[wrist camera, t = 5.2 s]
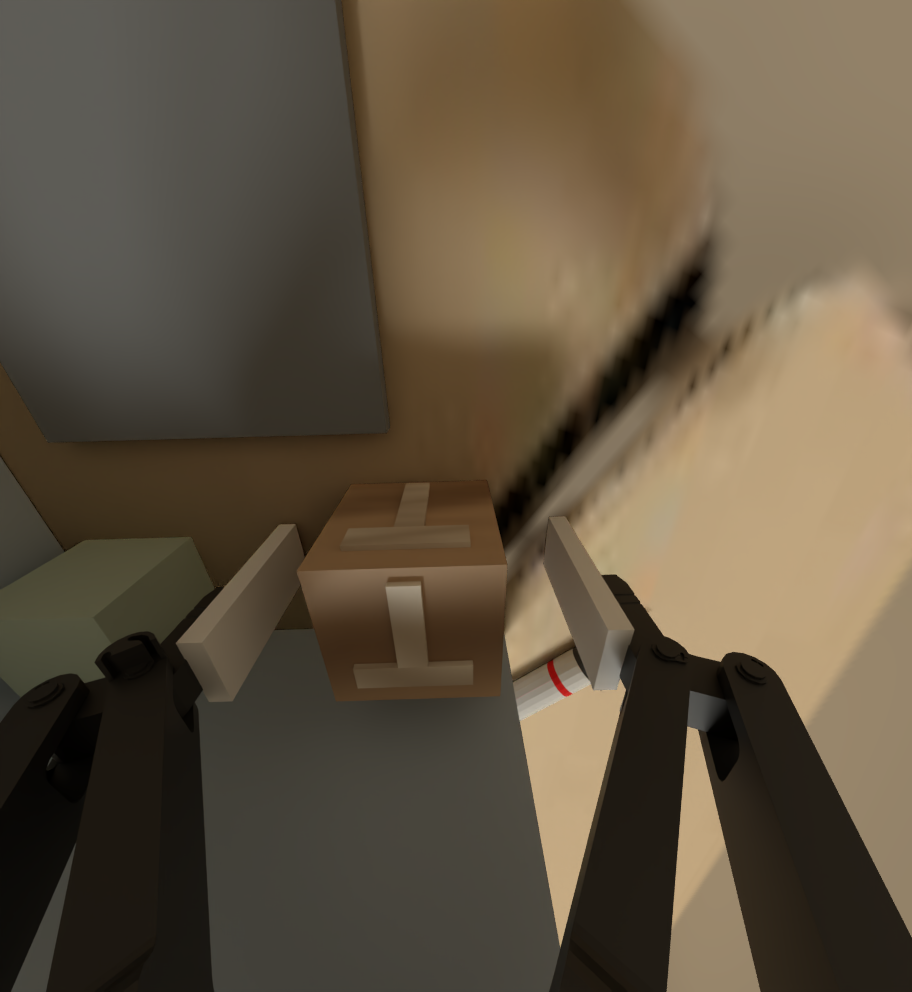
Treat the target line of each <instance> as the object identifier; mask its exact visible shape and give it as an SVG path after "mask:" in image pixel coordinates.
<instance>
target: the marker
mask: <svg viewBox="0 0 912 992" xmlns="http://www.w3.org/2000/svg"><path fill="white" fill-rule="evenodd" d="M590 684H591V683H590V680H589V678H588V675H587V673H586V670H585V668H584V665H583V663H582V660H581V658H580V655H579V653H578V650H577V648H576V647H575V648H574V649H573V648H572V649H571V650H569V651H567V652H565V653H564V654H562V655H560V656H558V657H557V658H555V659H553V660H551V661H549V662H548V663H546V664H544V665H542V666H541V667H539V668H537V669H535V670H534V671H532V672H530V673H528V674H527V675H525V676H523V677H521V678H519V679H518V680H516V681H514V682H513V686H514V692H515V698H516V703H517V709H518V715H519V720H520V721H521V720H523V719H525V718H527V717H529V716H531V715H533V714H534V713H536V712H538V711H540V710H542V709H544V708H546V707H548V706H550V705H552V704H554V703H556V702H558V701H559V700H561V699H563V698H565V697H567V696H569V695H571V694H573V693H575V692H577V691H579V690H581V689H583V688H584V687H586V686H588V685H590Z"/></svg>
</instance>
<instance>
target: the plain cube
mask: <svg viewBox="0 0 912 992" xmlns="http://www.w3.org/2000/svg"><path fill="white" fill-rule="evenodd" d="M214 589H215V588H214V586H213V584H212V582H211V580H210V577H209V575H208V573H207V571H206V569H205V566H204V564H203V562H202V560H201V558H200V555H199V553H198V551H197V549H196V546H195V544H194V542H193V540H192V538H191V537H172V538H137V539H102V540H84V541H83V542H81V543H79V544H77V545H76V546H74V547H72V548H71V549H69V550H67V551H66V552H64V553H62V554H60V555H59V556H57V557H55V558H54V559H52V560H50V561H49V562H47V563H45V564H43V565H42V566H40V567H38V568H37V569H35V570H33V571H32V572H30V573H28V574H26V575H25V576H23V577H21V578H20V579H18V580H16V581H15V582H13V583H11V584H9V585H8V586H6V587H4V588H3V589H1V590H0V677H1V678H2V679H3V680H4V681H5V682H6V683H7V684H8V685H9V686H10V687H11V688H12V689H13V690H14V691H15V692H16V693H17V694H18V695H19V696H20V697H22V696H23V695H24V694H26V693H27V692H28V691H30V690H31V689H32V688H34V687H35V686H37V685H39V684H41V683H42V682H45V681H46V680H48V679H51V678H54V677H56V676H59V675H63V674H69V673H72V674H77V675H78V676H79V677H80V678H81V680H82V681H83V682H84V683H87V682H90V681H94V680H98V679H101V678H105V676H104V675H103V673H102V672H101V671H100V669H99V668H98V667H97V665H96V664H95V663H94V662H95V660H96V659H97V657H98V655H99V654H100V653H101V652H102V651H103V650H104V649H105V648H106V647H108V646H109V645H111V644H112V643H114V642H115V641H117V640H119V639H121V638H123V637H125V636H127V635H130V634H133V633H137V632H145V631H149V632H151V633H154V635H155V636H156V638H157V640H158V641H159V643H160V644H161V643H162V642H163V641H164V640H165V638H166V637H167V636H168V635H169V634H170V633H171V632H172V631H173V630H174V629H175V628H176V626H177V625H178V624H179V623H180V622H181V621H182V620H183V619H185V618H186V616H187V614H188V613H189V612H190V611H191V610H194V607H195V606H196V605H197V604H198V603H199V601H200V600H201V599H202V598H203V597H204V596H206V595H207V594H208V593H210V592H211V591H213V590H214Z"/></svg>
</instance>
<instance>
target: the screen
mask: <svg viewBox="0 0 912 992" xmlns="http://www.w3.org/2000/svg"><path fill="white" fill-rule="evenodd" d="M62 553H64V550H63V549H62V547H61V546H60V544H59V543H58V541H57V540H56V538H55V537H54V536H53V534H52V533H51V531H50V530H49V528H48V527H47V525H46V524H45V522H44V521H43V519H42V518H41V516H40V515H39V513H38V512H37V510H36V509H35V507H34V506H33V504H32V503H31V501H30V500H29V498H28V497H27V495H26V494H25V492H24V491H23V490H22V488H21V487H20V485H19V484H18V482H17V481H16V479H15V478H14V476H13V475H12V473H11V472H10V470H9V469H8V467H7V466H6V464H5V463H4V461H3V460H2V458H1V457H0V590H1V589H3V588H4V587H6V586H8V585H9V584H11V583H13V582H15V581H16V580H18V579H20V578H21V577H23V576H25V575H26V574H28V573H30V572H32V571H33V570H35V569H37V568H38V567H40V566H42V565H43V564H45V563H47V562H49V561H50V560H52V559H54V558H55V557H57V556H59V555H60V554H62ZM20 698H21V697H20V696H19V695H18V694H17V693H16V692H15V691H14V690H13V689H12V688H11V687H10V686H9V685H8V684H7V683H6V682H5V681H4V680H3V679H2V678H1V677H0V722H1V721H2V720H3V718H4V717H5V716H6V714H7V713H8V712H9V710H10V709H11V708H12V706H13V705H14V704H15V703H16V702H17V701H18V700H19V699H20ZM195 703H196V705H197V708H198V712H199V731H200V751H201V770H202V789H203V809H204V828H205V848H206V867H207V887H208V906H209V926H210V945H211V965H212V980H213V988H214V992H549V990H550V986H551V983H552V979H553V975H554V972H555V968H556V964H557V960H558V956H559V952H560V945H559V939H558V934H557V928H556V922H555V917H554V911H553V906H552V900H551V894H550V889H549V883H548V877H547V872H546V866H545V861H544V855H543V849H542V844H541V838H540V833H539V827H538V821H537V816H536V810H535V804H534V799H533V793H532V788H531V782H530V776H529V771H528V765H527V759H526V754H525V748H524V743H523V737H522V731H521V726H520V720H519V715H518V709H517V703H516V698H515V692H514V686H513V681H512V675H511V670H510V664H509V658H508V653H507V647H506V641H505V636H504V637H503V656H502V674H501V693H500V696H491V697H460V698H429V699H398V700H367V701H336V700H335V697H334V693H333V690H332V687H331V683H330V680H329V677H328V673H327V670H326V667H325V664H324V660H323V657H322V654H321V650H320V647H319V644H318V640H317V637H316V634H315V630H314V629H292V630H274V631H273V633H272V634H271V636H270V638H269V640H268V641H267V643H266V645H265V646H264V648H263V650H262V652H261V653H260V655H259V657H258V658H257V660H256V662H255V664H254V665H253V667H252V669H251V670H250V672H249V674H248V676H247V677H246V679H245V681H244V682H243V684H242V686H241V688H240V689H239V691H238V693H237V694H236V696H235V698H234V700H233V701H229V702H209V701H208V699H207V698H206V696H205V694H204V692H203V691H202V692H201V694H200V695H199V697H198V698H197V700H196V701H195ZM51 760H52V757H51V759H50V761H49V763H50V762H51ZM49 763H48V765H49ZM75 846H76V844H75ZM75 846H74V848H73V851H72V853H71V855H70V857H69V860H68V862H67V864H66V867H65V869H64V871H63V873H62V876H61V878H60V880H59V883H58V885H57V887H56V890H55V892H54V894H53V896H52V899H51V901H50V903H49V906H48V908H47V910H46V912H45V915H44V917H43V919H42V922H41V924H40V926H39V929H38V931H37V933H36V935H35V938H34V940H33V942H32V945H31V947H30V949H29V951H28V954H27V956H26V958H25V961H24V963H23V965H22V968H21V970H20V972H19V974H18V977H17V979H16V981H15V984H14V986H13V988H12V990H11V992H46V989H47V984H48V979H49V974H50V969H51V964H52V959H53V954H54V949H55V944H56V939H57V935H58V930H59V925H60V920H61V915H62V910H63V905H64V900H65V895H66V890H67V885H68V880H69V876H70V871H71V866H72V861H73V856H74V851H75Z"/></svg>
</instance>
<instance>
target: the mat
mask: <svg viewBox="0 0 912 992" xmlns="http://www.w3.org/2000/svg"><path fill="white" fill-rule="evenodd" d="M0 363H1V364H2V366H3V368H4V369H5V371H6V373H7V375H8V376H9V378H10V380H11V381H12V383H13V385H14V386H15V388H16V390H17V391H18V393H19V395H20V396H21V398H22V400H23V401H24V403H25V405H26V407H27V408H28V410H29V412H30V413H31V415H32V417H33V418H34V420H35V422H36V423H37V425H38V427H39V428H40V430H41V432H42V433H43V435H44V437H45V438H46V440H47V442H48V443H51V442H87V441H122V440H157V439H193V438H228V437H264V436H299V435H334V434H370V433H387V432H388V430H389V428H390V422H389V414H388V405H387V396H386V387H385V379H384V370H383V361H382V352H381V344H380V335H379V326H378V317H377V309H376V300H375V291H374V282H373V274H372V265H371V256H370V247H369V239H368V230H367V221H366V212H365V204H364V195H363V186H362V177H361V169H360V160H359V151H358V142H357V134H356V125H355V116H354V107H353V99H352V90H351V81H350V72H349V64H348V55H347V46H346V37H345V29H344V20H343V11H342V2H341V0H0Z"/></svg>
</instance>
